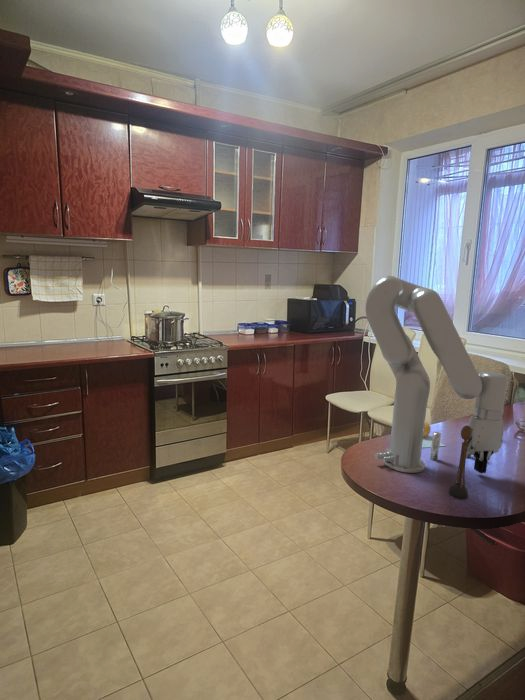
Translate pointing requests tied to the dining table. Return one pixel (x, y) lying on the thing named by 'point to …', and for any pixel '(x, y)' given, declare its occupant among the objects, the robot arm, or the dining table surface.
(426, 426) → the ball
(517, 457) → the dining table surface
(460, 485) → the wooden tabletop sculpture
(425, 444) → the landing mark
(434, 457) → the left post
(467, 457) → the right post
